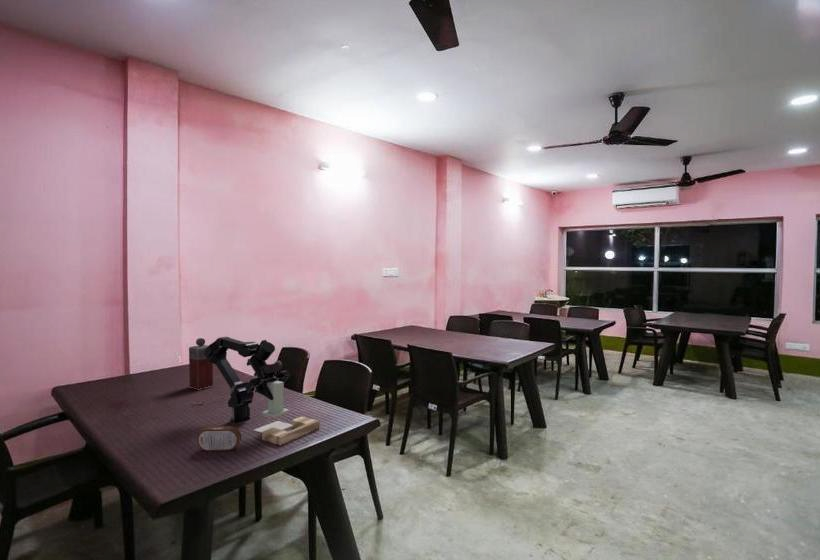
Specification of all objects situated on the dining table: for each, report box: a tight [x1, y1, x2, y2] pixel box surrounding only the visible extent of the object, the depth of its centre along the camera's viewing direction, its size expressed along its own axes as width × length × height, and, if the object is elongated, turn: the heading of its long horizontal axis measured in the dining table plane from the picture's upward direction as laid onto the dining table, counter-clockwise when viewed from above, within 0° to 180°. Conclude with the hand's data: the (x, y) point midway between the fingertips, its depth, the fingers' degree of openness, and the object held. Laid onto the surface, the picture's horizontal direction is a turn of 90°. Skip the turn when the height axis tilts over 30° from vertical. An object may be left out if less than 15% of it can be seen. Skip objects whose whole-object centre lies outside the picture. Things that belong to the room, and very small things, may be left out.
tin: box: [196, 425, 242, 452], centre depth 150 cm, size 15×3×8 cm, turn 92°
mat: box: [253, 420, 293, 434], centre depth 170 cm, size 10×12×1 cm
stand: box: [261, 416, 321, 446], centre depth 164 cm, size 10×20×3 cm, turn 147°
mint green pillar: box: [261, 381, 290, 418], centre depth 169 cm, size 7×8×12 cm
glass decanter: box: [188, 337, 214, 389], centre depth 234 cm, size 9×11×28 cm
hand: (278, 397), depth 168 cm, fingers closed on mint green pillar, 5 cm apart
